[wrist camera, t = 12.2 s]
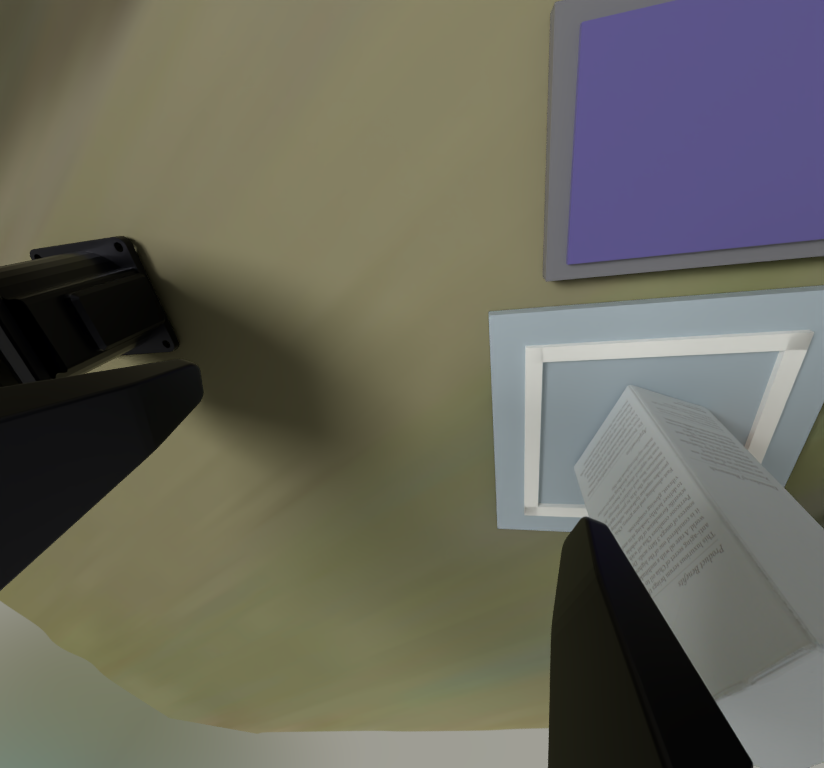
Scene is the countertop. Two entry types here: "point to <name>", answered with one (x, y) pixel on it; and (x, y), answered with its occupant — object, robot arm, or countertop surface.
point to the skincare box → (719, 565)
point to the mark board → (647, 383)
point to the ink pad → (683, 135)
